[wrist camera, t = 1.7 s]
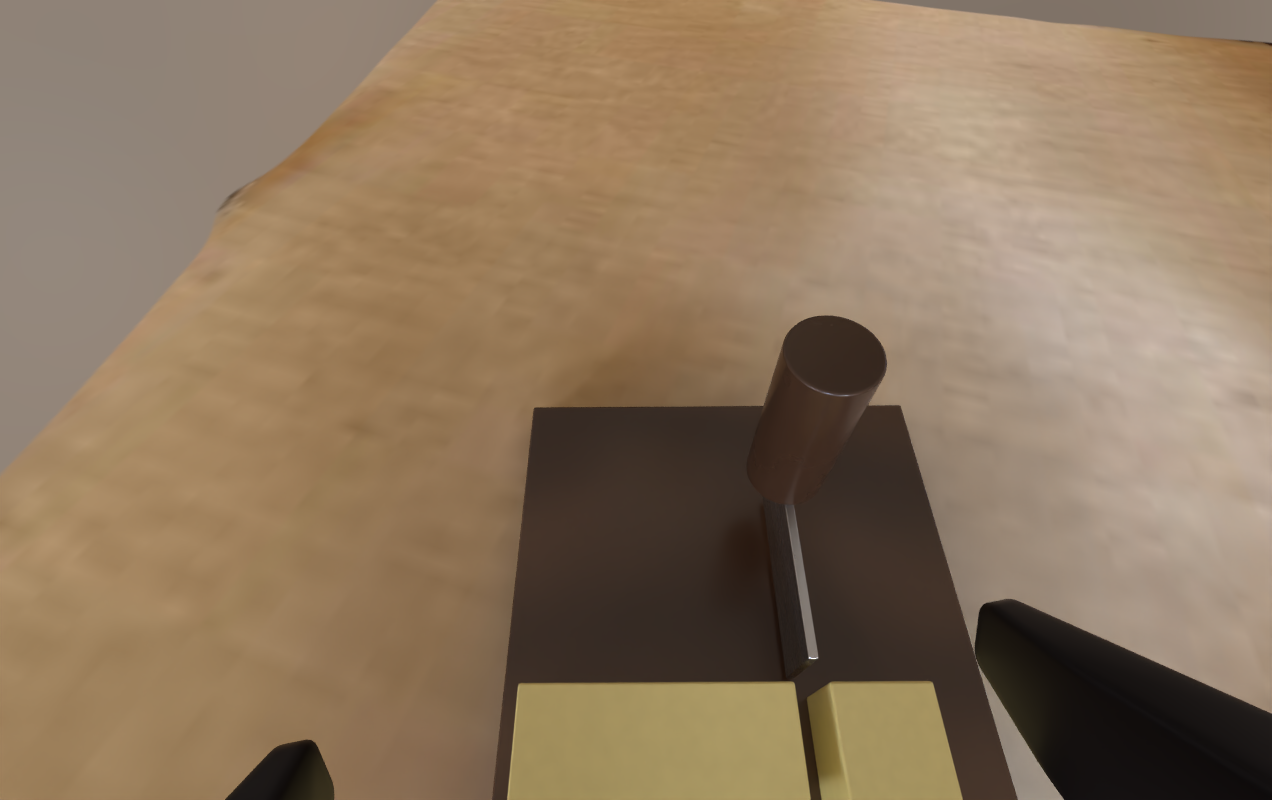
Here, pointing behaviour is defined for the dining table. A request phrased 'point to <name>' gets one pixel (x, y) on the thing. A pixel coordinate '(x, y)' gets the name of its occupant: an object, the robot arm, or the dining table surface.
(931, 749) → the butter pat
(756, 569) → the board
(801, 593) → the brown mallet
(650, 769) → the butter
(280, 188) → the dining table surface
